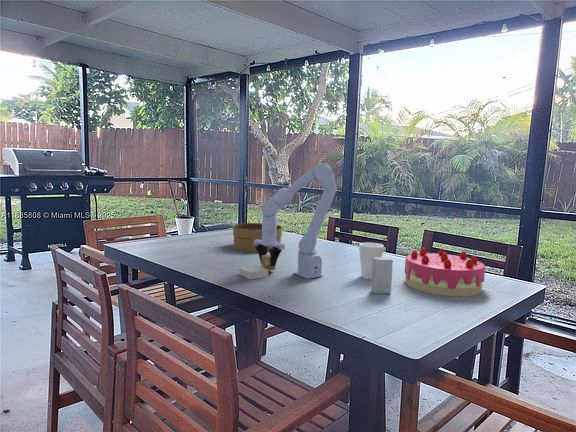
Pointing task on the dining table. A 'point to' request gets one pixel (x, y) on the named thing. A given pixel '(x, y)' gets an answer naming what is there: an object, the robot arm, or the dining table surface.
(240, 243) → the steamer basket
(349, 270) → the dining table surface
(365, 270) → the foam cup
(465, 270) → the cake
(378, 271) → the skincare box
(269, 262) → the oak block
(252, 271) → the tile block
